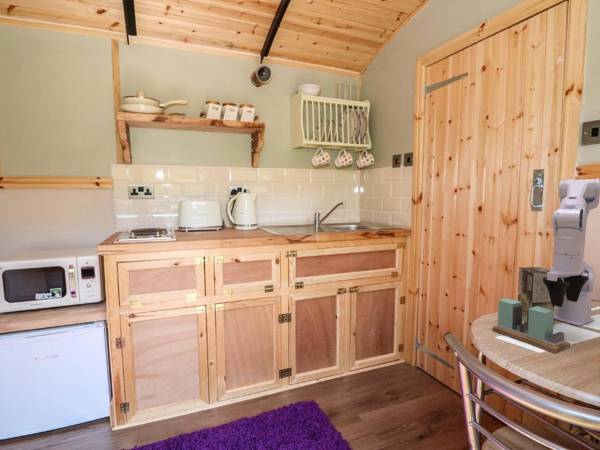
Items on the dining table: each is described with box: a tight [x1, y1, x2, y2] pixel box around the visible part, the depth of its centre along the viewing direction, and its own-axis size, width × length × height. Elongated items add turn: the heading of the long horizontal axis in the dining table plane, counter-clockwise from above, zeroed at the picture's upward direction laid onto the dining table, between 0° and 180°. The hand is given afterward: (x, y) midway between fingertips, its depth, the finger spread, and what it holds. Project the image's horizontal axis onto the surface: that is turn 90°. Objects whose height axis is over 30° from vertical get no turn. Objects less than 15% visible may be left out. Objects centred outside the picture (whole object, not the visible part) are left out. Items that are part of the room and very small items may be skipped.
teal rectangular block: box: [527, 306, 555, 339], centre depth 89 cm, size 5×4×7 cm
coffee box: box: [517, 266, 555, 326], centre depth 104 cm, size 9×6×16 cm
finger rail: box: [492, 297, 571, 354], centre depth 92 cm, size 7×16×9 cm, turn 27°
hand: (564, 303), depth 91 cm, fingers open, 7 cm apart
